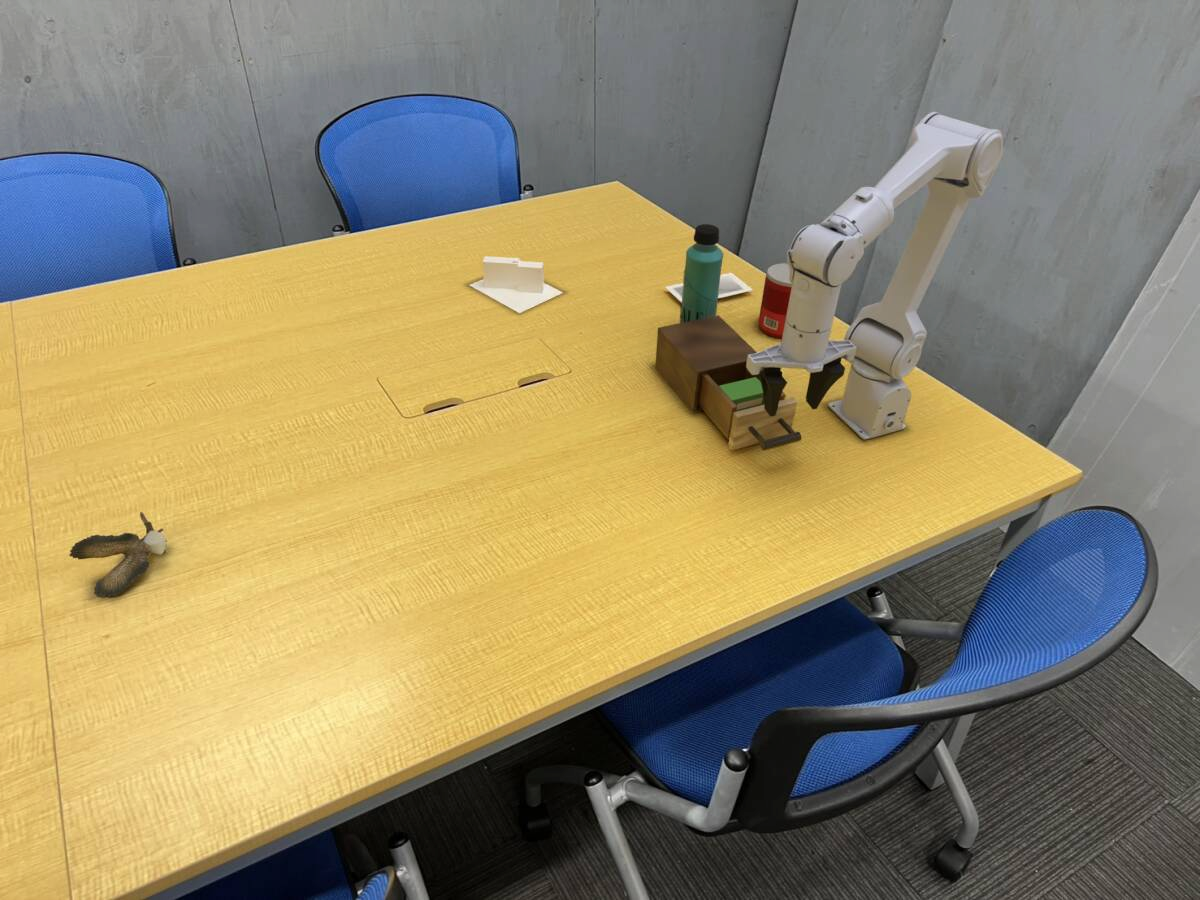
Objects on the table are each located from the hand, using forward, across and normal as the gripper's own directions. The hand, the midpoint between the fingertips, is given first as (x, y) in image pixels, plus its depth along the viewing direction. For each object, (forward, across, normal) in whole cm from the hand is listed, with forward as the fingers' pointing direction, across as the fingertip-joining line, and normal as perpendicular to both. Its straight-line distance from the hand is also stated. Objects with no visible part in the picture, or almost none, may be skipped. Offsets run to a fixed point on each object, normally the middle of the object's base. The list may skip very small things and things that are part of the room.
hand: (790, 408), depth 109 cm
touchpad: (+11, +9, +50) cm, 52 cm away
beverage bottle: (+11, +2, +37) cm, 39 cm away
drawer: (+10, -1, +9) cm, 13 cm away
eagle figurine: (+11, -86, +2) cm, 87 cm away
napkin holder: (+11, -26, +61) cm, 67 cm away
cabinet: (+10, -3, +23) cm, 25 cm away
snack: (+9, -1, +11) cm, 14 cm away
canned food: (+11, +17, +35) cm, 40 cm away
